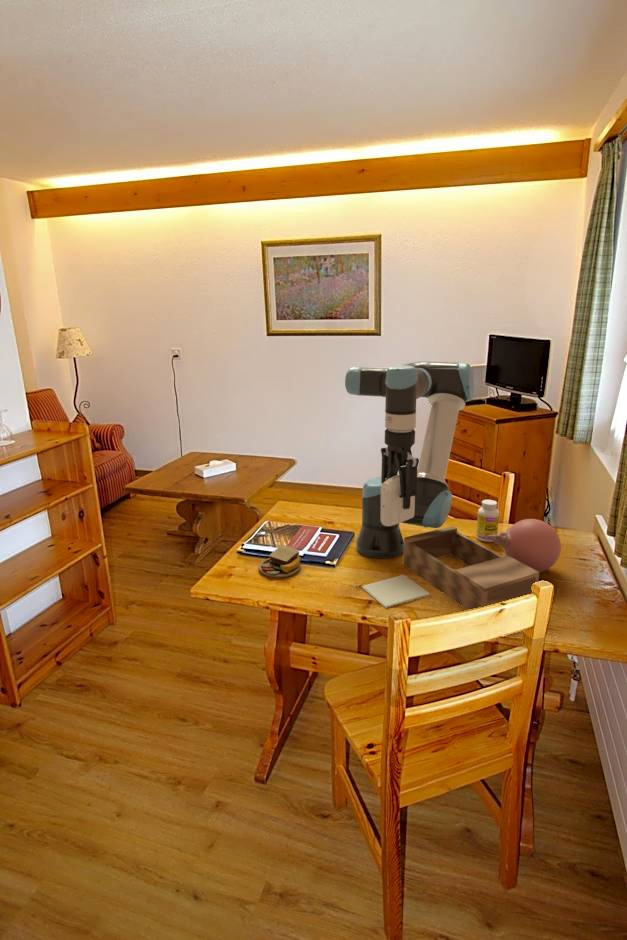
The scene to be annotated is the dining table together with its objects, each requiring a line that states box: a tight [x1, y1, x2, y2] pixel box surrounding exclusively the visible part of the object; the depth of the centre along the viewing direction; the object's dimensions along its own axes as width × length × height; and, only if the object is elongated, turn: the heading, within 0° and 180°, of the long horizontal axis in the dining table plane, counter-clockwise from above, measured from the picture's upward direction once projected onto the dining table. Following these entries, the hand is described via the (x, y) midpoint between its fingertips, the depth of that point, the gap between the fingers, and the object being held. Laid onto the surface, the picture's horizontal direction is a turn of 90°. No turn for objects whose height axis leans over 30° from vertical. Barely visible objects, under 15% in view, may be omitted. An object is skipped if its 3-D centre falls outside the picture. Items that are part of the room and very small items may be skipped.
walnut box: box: [402, 525, 540, 610], centre depth 156 cm, size 34×18×9 cm, turn 26°
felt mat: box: [361, 574, 431, 609], centre depth 153 cm, size 12×14×1 cm
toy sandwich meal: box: [258, 544, 302, 579], centre depth 167 cm, size 12×14×5 cm
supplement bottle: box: [475, 499, 500, 543], centre depth 183 cm, size 7×7×13 cm
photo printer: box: [380, 474, 415, 526], centre depth 145 cm, size 10×4×12 cm, turn 129°
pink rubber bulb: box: [488, 518, 562, 573], centre depth 162 cm, size 15×20×15 cm
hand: (397, 515), depth 146 cm, fingers closed on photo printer, 5 cm apart
